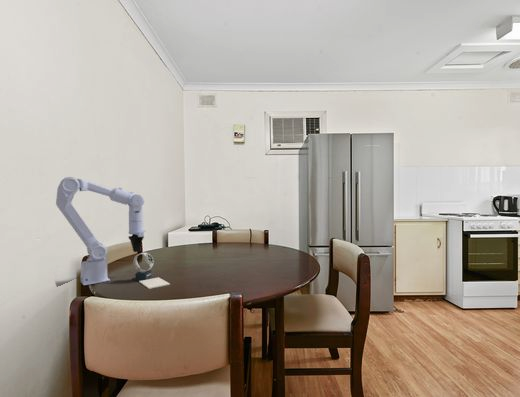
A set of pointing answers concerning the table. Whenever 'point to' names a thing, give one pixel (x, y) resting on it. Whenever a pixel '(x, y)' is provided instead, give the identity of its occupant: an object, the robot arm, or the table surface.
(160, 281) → the mat
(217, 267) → the table surface
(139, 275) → the watch
